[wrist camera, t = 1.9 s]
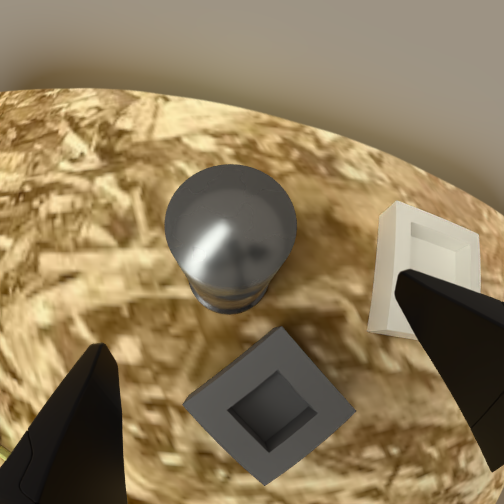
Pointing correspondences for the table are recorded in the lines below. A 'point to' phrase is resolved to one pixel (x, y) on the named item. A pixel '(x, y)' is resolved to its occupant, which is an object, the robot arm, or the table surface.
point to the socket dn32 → (269, 406)
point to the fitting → (230, 234)
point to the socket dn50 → (418, 261)
